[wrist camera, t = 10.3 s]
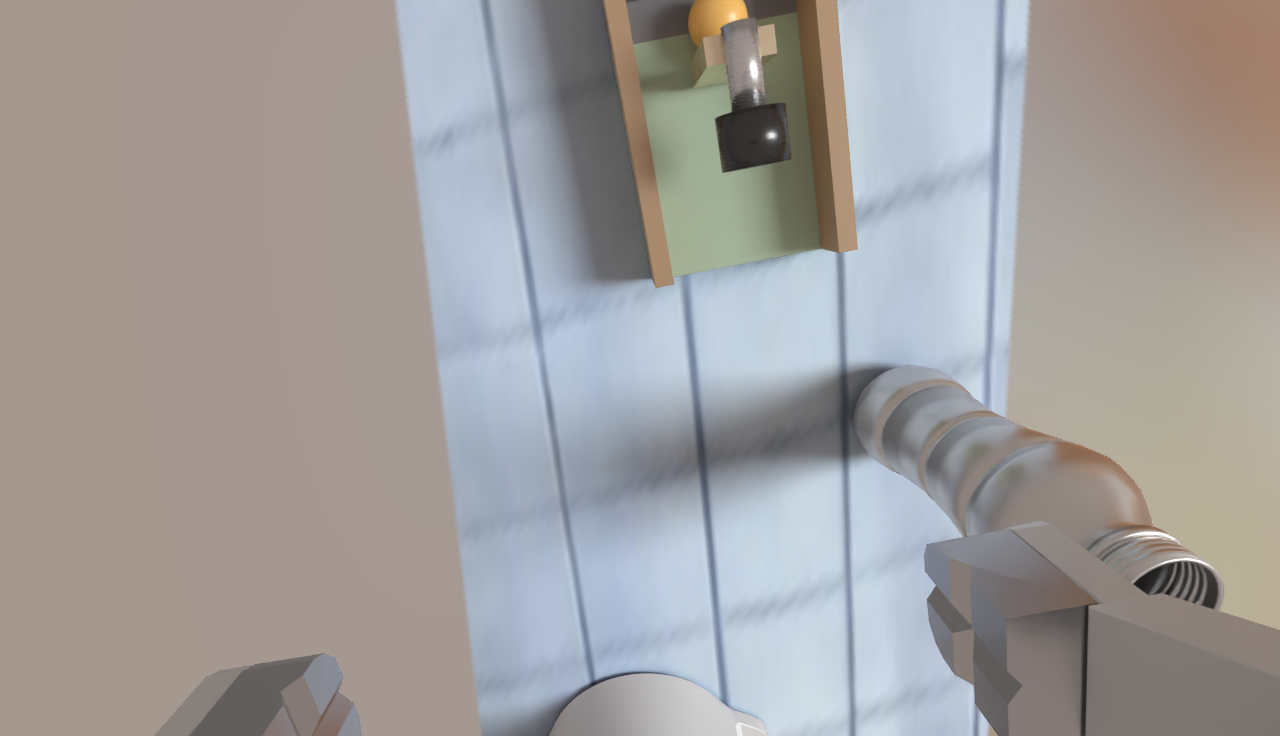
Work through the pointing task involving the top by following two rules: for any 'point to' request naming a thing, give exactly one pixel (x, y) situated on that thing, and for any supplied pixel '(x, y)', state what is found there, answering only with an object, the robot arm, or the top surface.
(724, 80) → the glass stem black base
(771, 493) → the top surface
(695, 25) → the ball
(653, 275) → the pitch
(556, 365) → the top surface
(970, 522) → the plastic bottle
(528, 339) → the top surface
